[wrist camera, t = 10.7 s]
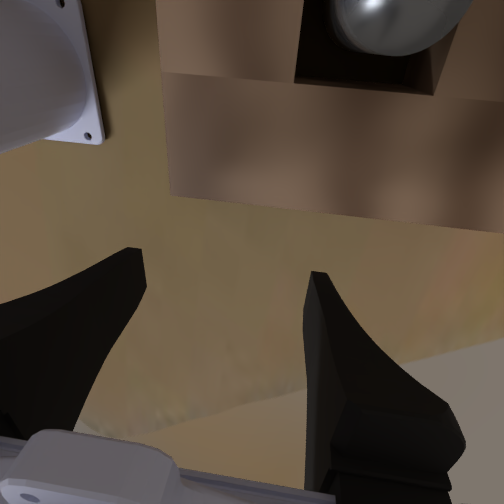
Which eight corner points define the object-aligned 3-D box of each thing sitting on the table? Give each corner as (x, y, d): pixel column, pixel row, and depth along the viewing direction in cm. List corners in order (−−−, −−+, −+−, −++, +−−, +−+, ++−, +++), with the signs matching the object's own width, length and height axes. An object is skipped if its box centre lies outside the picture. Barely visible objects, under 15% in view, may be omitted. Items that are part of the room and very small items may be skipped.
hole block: (194, 167, 22) (170, 195, 18) (180, -302, 12) (117, -488, 8) (465, 196, 21) (508, 234, 16) (696, -296, 11) (945, -511, 7)
